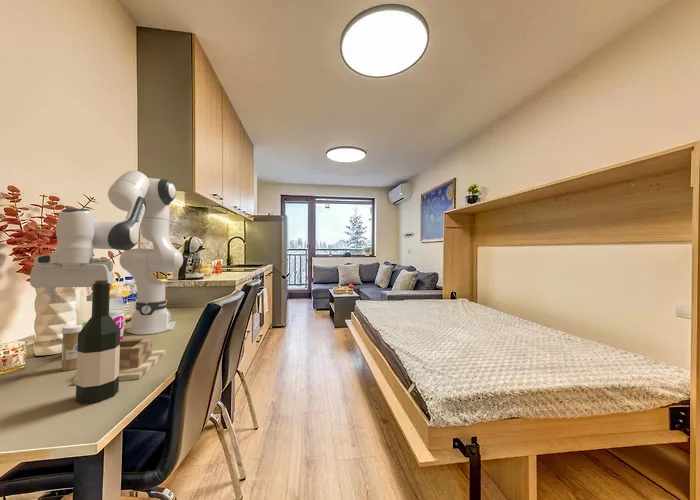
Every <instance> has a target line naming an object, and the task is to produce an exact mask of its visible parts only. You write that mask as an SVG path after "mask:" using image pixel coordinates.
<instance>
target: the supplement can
mask: <svg viewBox="0 0 700 500" xmlns="http://www.w3.org/2000/svg"><path fill="white" fill-rule="evenodd" d="M109 315H110V317H111V318H112V319H113V320H114V322H115V323H116V324H117V325H118V327H119V328H120V340H124V325H125V324H124V323H125V321H124V320H125V313H124V312H123V309H119V308H117V309H112V308H111V309H109Z"/></svg>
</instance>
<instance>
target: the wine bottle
mask: <svg viewBox="0 0 700 500" xmlns="http://www.w3.org/2000/svg"><path fill="white" fill-rule="evenodd" d="M92 291H93V294H92V301H91V317H90V318H89V319H88V321H87V322H86V323H85V325H84V326H82V330H81V331H80V333H79V334H78V348H77V368H76V377H75V378H76V385H75V402H76V403H79V404H81V405H90V404H96V403H100V402H103V401H106V400H108V399H111V398H113V397H115V396H116V395H117V393H118V392H119V385H120V381H119V358H120V328H119V327H118V325H117V324H116V323H115V322H114V320H113V319H112V318H111V317H110V315H109V310H110V300H111V299H110V296H111V295H110V293H111V286H110V283H108V280H96V281H95V284H93V290H92Z"/></svg>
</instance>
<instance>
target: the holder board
mask: <svg viewBox="0 0 700 500" xmlns="http://www.w3.org/2000/svg"><path fill="white" fill-rule="evenodd" d="M165 355H166V349H159V350H158V349H156V350H153V337H151V338H149V337H147V338H133V339H132V338H131V339H123V340H120V358H119V382H121V381H131V380H133V381H134V380H140V379H142V377H144V376H145V374H146V373H147V372H148V371H149V370H151V369H152V368H153V367H154V366H155V364H157V363H158V361H160V359H162V358H163V357H164V356H165ZM76 378H77V377H75V378H74V379H73V381H72V383H73V386H74V385H75V386H76Z"/></svg>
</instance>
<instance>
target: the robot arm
mask: <svg viewBox="0 0 700 500" xmlns="http://www.w3.org/2000/svg"><path fill="white" fill-rule="evenodd" d="M176 196H177V188H176V186H175V184H174V183H173V182H172V181H171V180H170V179H165V178H161V179H160V178H154V177H153V178H151V177H147V175H146V174H144V173H143V172H141V171H138V170H129V171H127V172H124V173H123V174H121V176H119V177H118V178H117V179H116V180H115V181H114V182H113V183H112V184H111V186H110V187H109V188H108V191H107V198H108V200H109V201H110V203H111V204H112V205H113V206H114V207H116V208H117V209H119V210H120V211H123V212H127V213H126V216H125V219H124V220H121V221H99V220H98V219H96V218H95V216H94V213H93V211H92V210H91V209H88V208H63V209H61V210H60V211H59V214H58V217H57V221H56V228H55V230H56V231H55V232H56V233H55V236H56V240H57V243H56V245H55V250H54V251H55V252H50V253H46V254H42V255H41V254H40V255H37V256H35V257H33V262H34V266H32V267H31V270H30V275H29V276H30V277H29V284H30V286H31V288H34V289H35V288H36V289H38V288H41V289H43V288H44V290H45V293H46V294H47V295H48V297H49V302H50V303H58V302H59V301H60V295H56V293H55V291H56V289H57V288H90V290H91V293H90V295H86V302H92V294H93V284H95V281H96V280H108V283H110V287H111V286H112V285H113V284H114V275H113V269H114V262H113V261H112V260H110V259H108V258H94V249H95V250H118V251H123V252H122V253H121V254H120V257H119V259H118V262H119V264H120V267H121V268H122V269H123V270H124V271H126V272H128V273H129V274H130V276H131V277H132V278H133V280H134V282H135V286H136V302H135V305H134V306H135V311H134V312H132V314H131V317H130V318H131V321H130V328H128V329H126V333H131V334H132V335H153V334H158V333H163V332H167V331H172V330H173V331H174V328H175V326H176V321H174V320H173V321H172V320H171V315H172V314H171V312H170V310H168V308H167V303H168V299H166V287H167V286H166V284H165V282H163V281H162V280H160V279H158V278H156V277H155V275H154V273H155V272H160V273H161V272H164V273H165V272H166V273H167V272H173V271H177V270H179V269H181V267H182V265H183V263H184V256H183V254H182V252H181V251H180V250H178V249H177V248H175V247H174V245H173V244H172V242H171V239H170V222H171V221H170V220H171V219H170V218H171V215H170V214H171V212H170V204H171V203H172V202H173V201H174V200H175V198H176ZM140 236H142V238H144V240H146V241H149V242H150V243H152V245H153V247H152V248H143V247H141V248H139V247H137V248H134V247H135V246H136V245H138V244H139V241H140ZM153 272H154V273H153Z"/></svg>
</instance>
